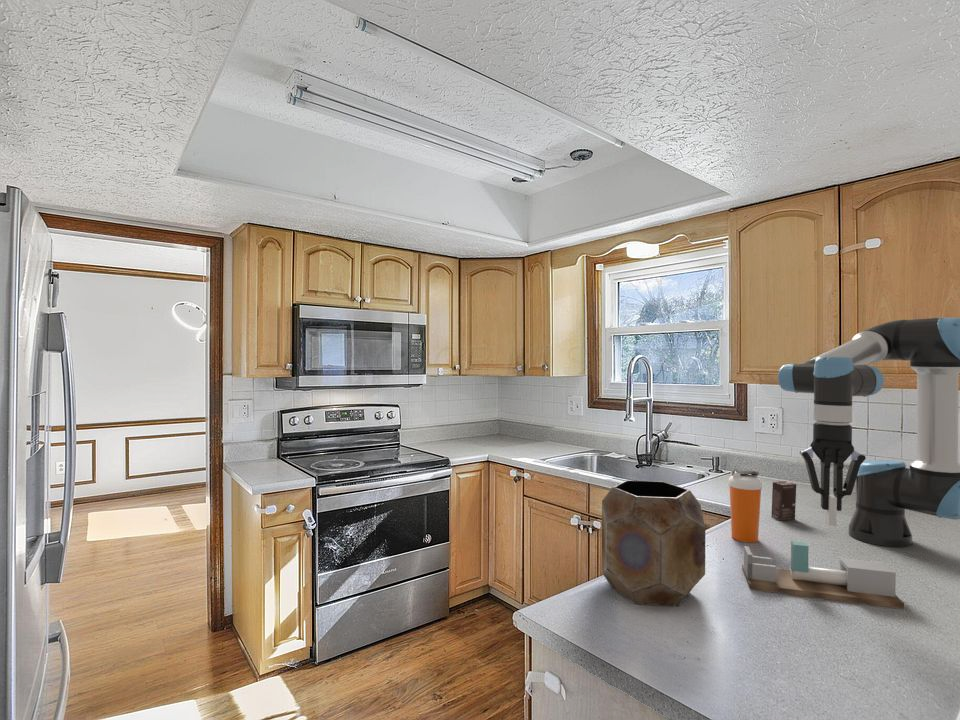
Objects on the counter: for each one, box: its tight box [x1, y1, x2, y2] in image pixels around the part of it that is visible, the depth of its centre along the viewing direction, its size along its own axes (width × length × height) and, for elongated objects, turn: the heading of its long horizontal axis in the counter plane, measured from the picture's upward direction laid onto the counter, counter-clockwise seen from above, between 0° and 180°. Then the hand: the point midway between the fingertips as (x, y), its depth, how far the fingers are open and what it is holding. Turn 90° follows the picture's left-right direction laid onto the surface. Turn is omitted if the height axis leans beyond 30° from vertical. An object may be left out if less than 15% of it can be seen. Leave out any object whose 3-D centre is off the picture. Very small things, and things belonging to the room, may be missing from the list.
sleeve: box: [839, 557, 897, 597], centre depth 121 cm, size 9×6×5 cm, turn 71°
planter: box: [601, 480, 706, 607], centre depth 123 cm, size 22×24×24 cm
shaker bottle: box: [728, 469, 763, 543], centre depth 157 cm, size 9×9×20 cm
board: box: [741, 564, 905, 610], centre depth 124 cm, size 30×12×1 cm, turn 71°
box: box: [771, 480, 797, 521], centre depth 176 cm, size 6×4×12 cm
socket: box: [743, 545, 777, 582], centre depth 128 cm, size 6×6×6 cm
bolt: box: [790, 540, 847, 586], centre depth 123 cm, size 20×3×9 cm, turn 71°
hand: (830, 523), depth 123 cm, fingers closed
